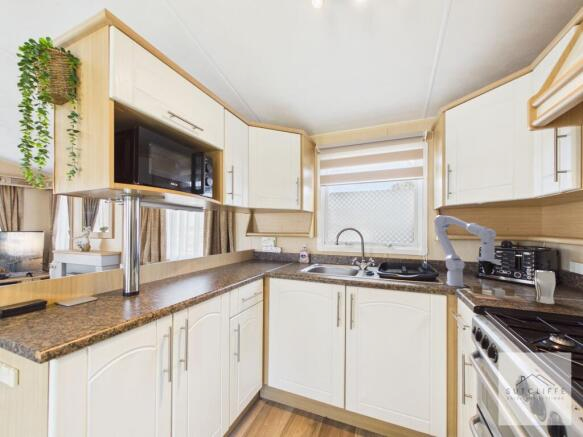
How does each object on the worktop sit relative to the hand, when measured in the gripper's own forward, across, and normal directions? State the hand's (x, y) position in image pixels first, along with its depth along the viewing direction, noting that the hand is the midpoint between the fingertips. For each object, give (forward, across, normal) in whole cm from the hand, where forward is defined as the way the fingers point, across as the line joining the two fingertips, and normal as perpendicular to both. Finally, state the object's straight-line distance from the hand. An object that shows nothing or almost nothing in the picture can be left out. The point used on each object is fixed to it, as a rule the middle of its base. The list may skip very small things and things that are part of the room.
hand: (488, 275), depth 132 cm
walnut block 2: (+9, +6, +6) cm, 12 cm away
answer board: (+9, +5, -1) cm, 11 cm away
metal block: (+9, +11, -3) cm, 14 cm away
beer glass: (+10, +16, +14) cm, 24 cm away
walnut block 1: (+9, +2, -8) cm, 12 cm away
